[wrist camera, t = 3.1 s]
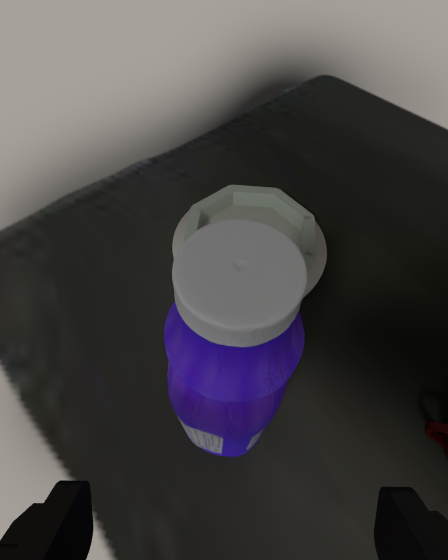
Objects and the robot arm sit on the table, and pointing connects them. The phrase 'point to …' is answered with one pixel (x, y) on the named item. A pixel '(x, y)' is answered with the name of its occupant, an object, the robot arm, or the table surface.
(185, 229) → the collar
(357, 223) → the table surface
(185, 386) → the bottle
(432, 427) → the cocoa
